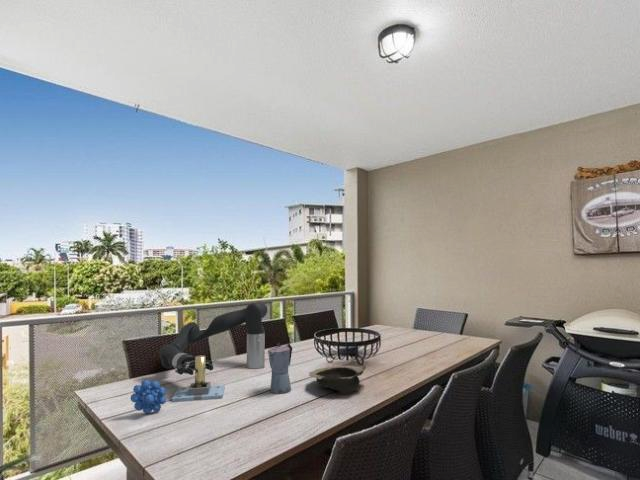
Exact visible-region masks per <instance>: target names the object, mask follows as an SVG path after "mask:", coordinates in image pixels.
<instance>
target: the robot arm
mask: <svg viewBox="0 0 640 480" xmlns="http://www.w3.org/2000/svg"><path fill="white" fill-rule="evenodd" d="M267 313H268V307H267V304H265V303H264V302H262V301H256V302H252V303H251V302H250V304H248V305H247V306H246V307H244V308H242V309H238V310H233V311H229V312H225V313H223V314H220V315H217V316H215V317H214V318H213V320H211V322H210V323H209V326H208V327H207V328H206V330H205V331H203V332H201V329H200V327H199V326H198V324H197V322H195V321H192V322H189V323H187V324H185V325H183V327H181V329H180V330H179V332H178V334H177V336H176V338H174V340H173V341H172V342H171V343H170V344H169V343H168V344H165V345H163V346H162V347H160V349H159V350H158V351H159V357H160V362H161V365H162V367H163V368H164V369H171V368H174V369H175V371H174V372H175V373H177V374H179V375H183V374H184V375H187V374H188V375H191V376H192V375H193V376H194V372H195V357H196V356H194V355H192V354H188V353H187V352H184V350H185V349H186V347H187V345H193V344H196V343H198V342H200V341H203V340H205V339H208V338H210V337H213V336H215V335H218V334H221V333H225V332H228V331H231V330H234V329H235V328H236V327H237V328H238V327H239V326H241V325H243V324H245V328H246V368H248V369H252V370H253V369H254V370H256V369H261V368H265V367H266V366H265V363H266V362H265V361H266V360H265V359H266V358H265V357H266V355H265V354H266V353H265V351H266V349H265V347H266V346H265V341H266V340H265V338H266V337H265V335H266V334H265V333H266V331H265V326H263V321H262V320H263V318H264V317H266V315H267ZM205 370H209V371H213V370H214V365H213V361H212V360H209V359H206V362H205Z"/></svg>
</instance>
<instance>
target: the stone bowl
mask: <svg viewBox="0 0 640 480" xmlns="http://www.w3.org/2000/svg"><path fill="white" fill-rule="evenodd" d="M366 368H367V367H366V366H365V365H364V366H359V367H358V366H354V365H353V366H351V365H338V366H337V365H334V366H327V367H321V368H317V369H314V370H311V371H310V372H309V374H308V376H310V377H312V378H315V380H316V382H317V384H318V385H319V386H321V387H325V388H327V389H329V388H331V389H332V390H337V393H338V394H339V395H340V396H343V395H349V394H351V393H354V391H357V390H359V388H360V383H361V382H360V378H359V376H362V375H363V373H364V371H365V370H366Z"/></svg>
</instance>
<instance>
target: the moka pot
mask: <svg viewBox="0 0 640 480" xmlns="http://www.w3.org/2000/svg"><path fill="white" fill-rule="evenodd" d="M281 344H282V343H281V342H277V343H276V346H274V347H270V348H268V350H267V353H268V359H269V367H270V369H271V377H270V378H271V379H270V380H271V381H270V390H269V391H270V392H271V393H272V394H276V395H279V394H285V393H288V392H290V391H291V390H292V385H291V381H290V380H291V379H290V374H289V373H290V372H289V366H291V359H292V353H293V347H292V346H291V344H290V343H288V344H285V345H281Z"/></svg>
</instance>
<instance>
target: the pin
mask: <svg viewBox="0 0 640 480" xmlns="http://www.w3.org/2000/svg"><path fill="white" fill-rule="evenodd" d="M194 357H195V370H194V383H195V388H202V387H205V382H206V369H205V367H206V366H205V362H206V360H207V358H206V355H201V354H200V355H196V356H194Z"/></svg>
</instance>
